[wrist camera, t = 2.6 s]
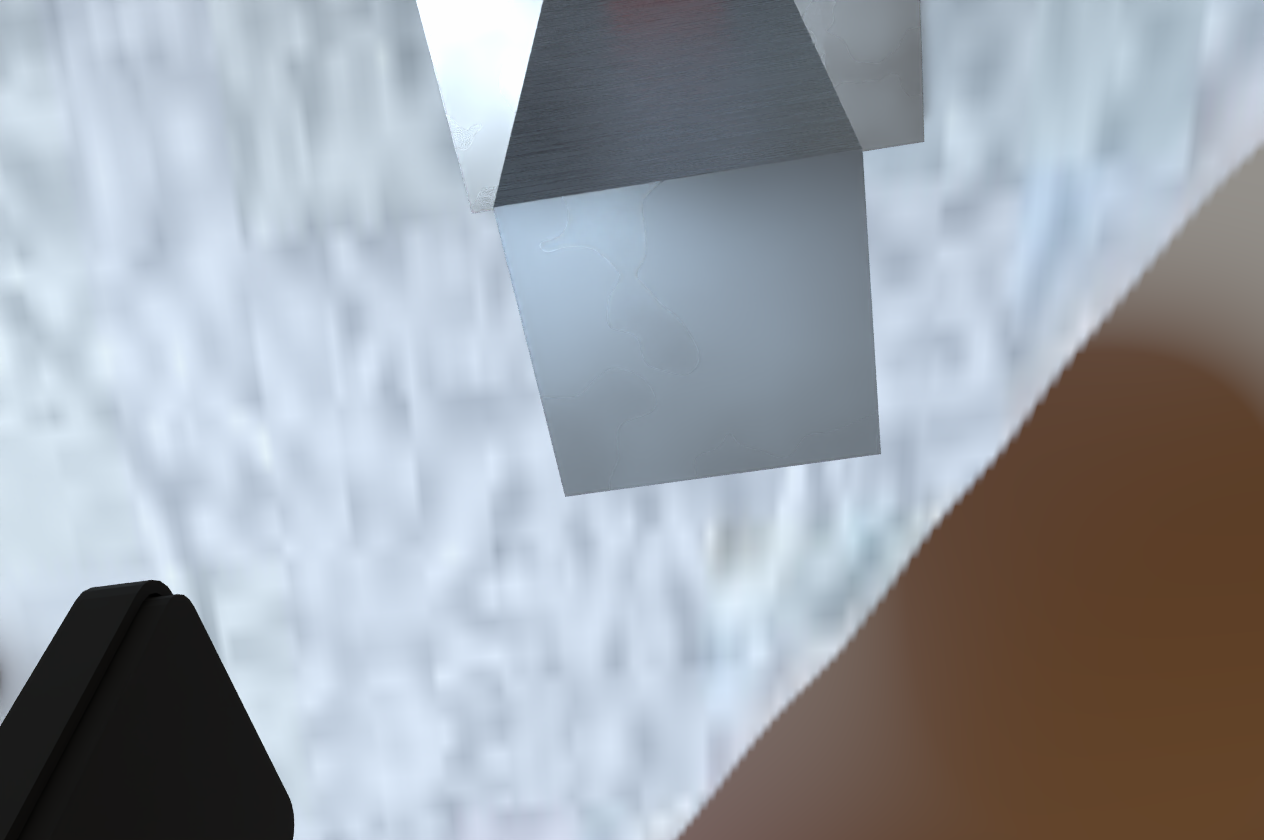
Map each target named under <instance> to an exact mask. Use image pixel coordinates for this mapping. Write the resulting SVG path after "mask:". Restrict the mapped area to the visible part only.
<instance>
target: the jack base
mask: <svg viewBox="0 0 1264 840" xmlns="http://www.w3.org/2000/svg"><path fill="white" fill-rule="evenodd" d="M416 2H417V5H418V9H419V13H420V17H421V21H422V24H423V28H424V32H425V36H426V40H427V44H428V47H429V51H430V55H431V59H432V63H433V67H434V70H435V74H436V78H437V82H438V86H439V90H440V93H441V97H442V101H443V105H444V109H445V112H446V116H447V120H448V124H449V128H450V132H451V135H452V139H453V143H454V147H455V151H456V155H457V158H458V162H459V166H460V170H461V174H462V177H463V181H464V185H465V189H466V193H467V197H468V200H469V204H470V208H471V212H472V213H478V212H484V211H491V210H494V209H493V206H494V202H495V198H496V194H497V189H498V185H499V181H500V177H501V173H502V169H503V165H504V161H505V156H506V152H507V148H508V144H509V140H510V136H511V132H512V127H513V123H514V119H515V115H516V111H517V107H518V103H519V98H520V94H521V90H522V86H523V82H524V78H525V74H526V69H527V65H528V61H529V57H530V53H531V49H532V45H533V40H534V36H535V32H536V28H537V24H538V20H539V16H540V12H541V7H542V3H543V0H416ZM794 2H795V4H796V6H797V9H798V11H799V13H800V15H801V17H802V19H803V22H804V24H805V26H806V28H807V30H808V32H809V35H810V37H811V39H812V41H813V43H814V45H815V48H816V50H817V52H818V54H819V56H820V58H821V61H822V63H823V65H824V67H825V69H826V71H827V74H828V76H829V78H830V80H831V82H832V84H833V87H834V89H835V91H836V93H837V95H838V97H839V100H840V102H841V104H842V106H843V108H844V110H845V113H846V115H847V117H848V119H849V121H850V123H851V126H852V128H853V130H854V132H855V134H856V136H857V139H858V141H859V143H860V145H861V147H862V152H863V151H869V150H875V149H881V148H888V147H894V146H900V145H907V144H913V143H919V142H924V120H923V87H922V54H921V20H920V0H794Z"/></svg>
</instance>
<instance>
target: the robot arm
mask: <svg viewBox="0 0 1264 840" xmlns="http://www.w3.org/2000/svg"><path fill="white" fill-rule="evenodd" d="M293 836H294V813H293V808H292V804H291V801H290V798H289V796H288V794H287V792H286V790H285V788H284V786H283V784H282V782H281V780H280V778H279V776H278V774H277V772H276V770H275V768H274V766H273V764H272V762H271V760H270V758H269V756H268V754H267V752H266V750H265V748H264V746H263V744H262V742H261V740H260V738H259V736H258V734H257V732H256V730H255V728H254V726H253V724H252V722H251V720H250V718H249V716H248V714H247V712H246V710H245V708H244V706H243V704H242V702H241V700H240V698H239V696H238V694H237V692H236V690H235V688H234V686H233V684H232V682H231V680H230V678H229V676H228V674H227V672H226V670H225V668H224V666H223V664H222V662H221V660H220V658H219V656H218V654H217V652H216V650H215V648H214V646H213V643H212V641H211V639H210V637H209V635H208V633H207V631H206V629H205V627H204V625H203V623H202V621H201V619H200V617H199V615H198V613H197V611H196V609H195V607H194V606H193V604H192V603H191V601H190V600H189V599H188V598H187V597H186V596H184V595H180V594H176V595H173V594H172V592H171V591H170V589H169V588H168V586H166V585H165V584H163V583H162V582H161V581H156V580H148V581H140V582H132V583H124V584H116V585H108V586H101V587H93V588H90V589H88V590H86V591H84V592H82V594H81V595H80V596H79V597H78V598H77V599H76V601H75V602H74V604H73V606H72V607H71V609H70V611H69V612H68V614H67V616H66V617H65V619H64V621H63V622H62V624H61V626H60V627H59V629H58V631H57V632H56V634H55V636H54V637H53V639H52V641H51V642H50V644H49V646H48V647H47V649H46V651H45V652H44V654H43V656H42V657H41V659H40V661H39V662H38V664H37V666H36V667H35V669H34V671H33V672H32V674H31V676H30V677H29V679H28V681H27V682H26V684H25V686H24V687H23V689H22V691H21V692H20V694H19V696H18V697H17V699H16V701H15V702H14V704H13V706H12V707H11V709H10V711H9V713H8V714H7V716H6V718H5V719H4V721H3V723H2V724H1V726H0V840H293Z"/></svg>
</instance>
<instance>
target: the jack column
mask: <svg viewBox="0 0 1264 840" xmlns="http://www.w3.org/2000/svg"><path fill="white" fill-rule="evenodd" d="M493 209H494V213H495V217H496V221H497V225H498V229H499V233H500V237H501V241H502V245H503V249H504V253H505V257H506V261H507V265H508V269H509V273H510V277H511V281H512V285H513V289H514V293H515V297H516V301H517V305H518V309H519V313H520V317H521V321H522V325H523V329H524V333H525V337H526V341H527V345H528V349H529V353H530V357H531V361H532V365H533V369H534V373H535V377H536V381H537V385H538V389H539V393H540V397H541V401H542V405H543V409H544V413H545V417H546V421H547V425H548V429H549V433H550V437H551V441H552V445H553V449H554V453H555V457H556V461H557V465H558V469H559V473H560V477H561V481H562V485H563V489H564V493H565V497H566V496H574V495H581V494H588V493H596V492H603V491H610V490H618V489H625V488H633V487H640V486H647V485H655V484H662V483H670V482H677V481H684V480H692V479H699V478H707V477H714V476H721V475H729V474H736V473H743V472H751V471H758V470H766V469H773V468H780V467H788V466H795V465H803V464H810V463H817V462H825V461H832V460H840V459H847V458H854V457H862V456H869V455H877V454H881V448H880V432H879V415H878V399H877V382H876V366H875V350H874V333H873V317H872V300H871V284H870V267H869V251H868V234H867V218H866V201H865V185H864V168H863V152H862V147H861V145H860V143H859V141H858V139H857V136H856V134H855V132H854V130H853V128H852V126H851V123H850V121H849V119H848V117H847V115H846V113H845V110H844V108H843V106H842V104H841V102H840V100H839V97H838V95H837V93H836V91H835V89H834V87H833V84H832V82H831V80H830V78H829V76H828V74H827V71H826V69H825V67H824V65H823V63H822V61H821V58H820V56H819V54H818V52H817V50H816V48H815V45H814V43H813V41H812V39H811V37H810V35H809V32H808V30H807V28H806V26H805V24H804V22H803V19H802V17H801V15H800V13H799V11H798V9H797V6H796V4H795V2H794V0H543V3H542V7H541V12H540V16H539V20H538V24H537V28H536V32H535V36H534V40H533V45H532V49H531V53H530V57H529V61H528V65H527V69H526V74H525V78H524V82H523V86H522V90H521V94H520V98H519V103H518V107H517V111H516V115H515V119H514V123H513V127H512V132H511V136H510V140H509V144H508V148H507V152H506V156H505V161H504V165H503V169H502V173H501V177H500V181H499V185H498V189H497V194H496V198H495V202H494V206H493Z"/></svg>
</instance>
